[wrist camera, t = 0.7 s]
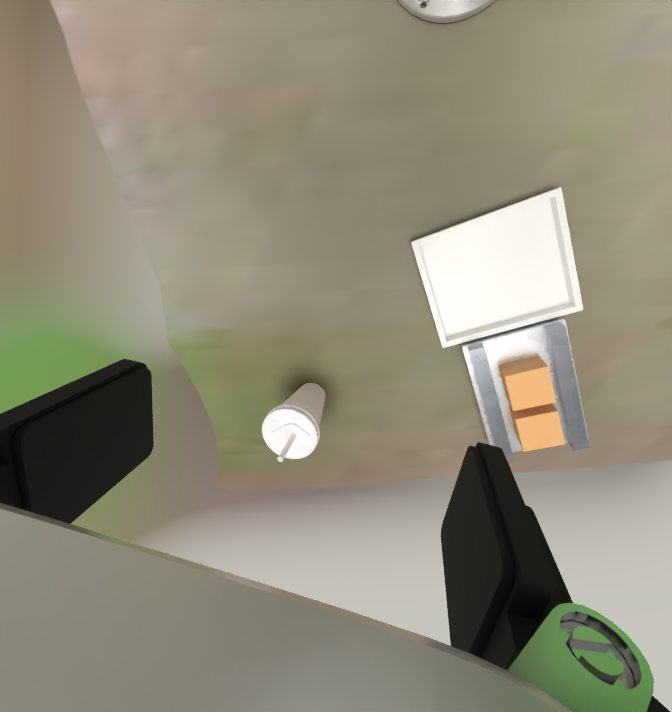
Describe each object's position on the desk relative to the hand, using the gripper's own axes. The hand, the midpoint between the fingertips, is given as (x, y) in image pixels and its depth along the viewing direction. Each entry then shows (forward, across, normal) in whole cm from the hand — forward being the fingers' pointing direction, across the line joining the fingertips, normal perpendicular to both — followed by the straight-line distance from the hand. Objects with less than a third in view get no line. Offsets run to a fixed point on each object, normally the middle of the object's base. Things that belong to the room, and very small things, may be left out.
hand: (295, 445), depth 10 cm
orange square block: (+31, -17, +7) cm, 36 cm away
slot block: (+34, -18, +8) cm, 39 cm away
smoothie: (+34, +6, +16) cm, 38 cm away
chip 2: (+31, -19, +11) cm, 38 cm away
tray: (+33, -11, -3) cm, 35 cm away
